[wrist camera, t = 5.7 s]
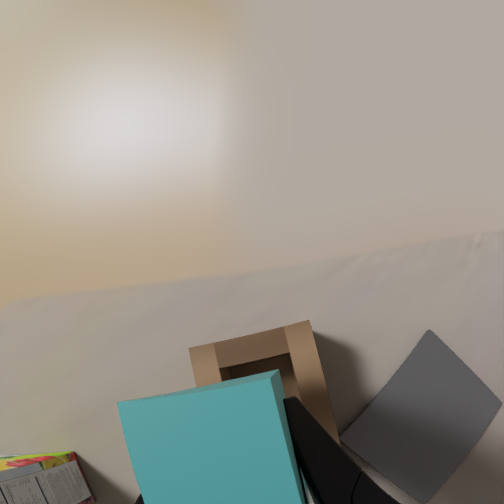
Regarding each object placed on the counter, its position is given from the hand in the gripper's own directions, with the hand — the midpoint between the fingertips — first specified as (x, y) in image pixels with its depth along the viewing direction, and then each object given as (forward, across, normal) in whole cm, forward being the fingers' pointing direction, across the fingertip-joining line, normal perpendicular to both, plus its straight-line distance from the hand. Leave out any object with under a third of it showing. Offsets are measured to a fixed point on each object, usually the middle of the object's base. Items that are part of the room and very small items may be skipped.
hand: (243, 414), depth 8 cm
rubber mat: (+4, -11, +13) cm, 18 cm away
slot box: (+8, 0, +10) cm, 12 cm away
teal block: (+3, 0, +5) cm, 6 cm away
